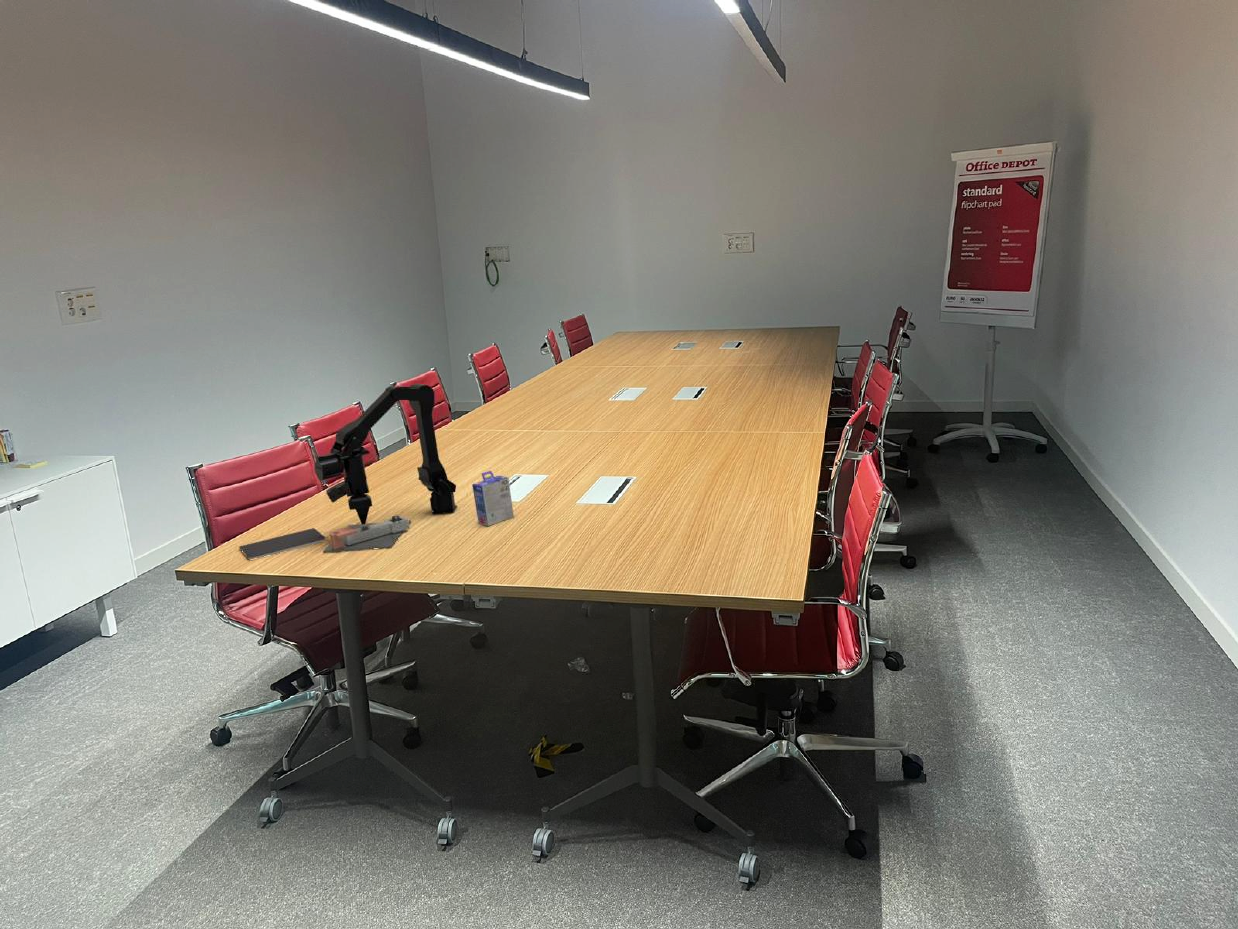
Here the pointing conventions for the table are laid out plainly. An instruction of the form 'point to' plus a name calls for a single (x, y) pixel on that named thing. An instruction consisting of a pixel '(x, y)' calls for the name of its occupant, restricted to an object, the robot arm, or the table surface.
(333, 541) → the keeper
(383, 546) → the pintle plate
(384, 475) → the table surface
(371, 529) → the link
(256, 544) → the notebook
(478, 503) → the ink cartridge box
